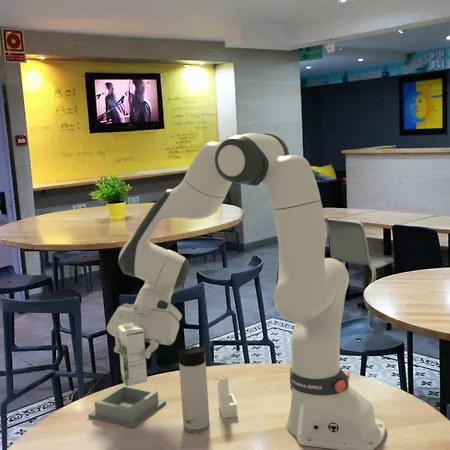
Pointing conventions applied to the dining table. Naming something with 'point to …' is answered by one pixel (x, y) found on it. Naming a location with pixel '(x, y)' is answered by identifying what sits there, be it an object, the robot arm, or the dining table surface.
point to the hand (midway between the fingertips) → (130, 354)
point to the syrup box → (132, 354)
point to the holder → (127, 406)
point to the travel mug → (194, 389)
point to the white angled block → (226, 400)
